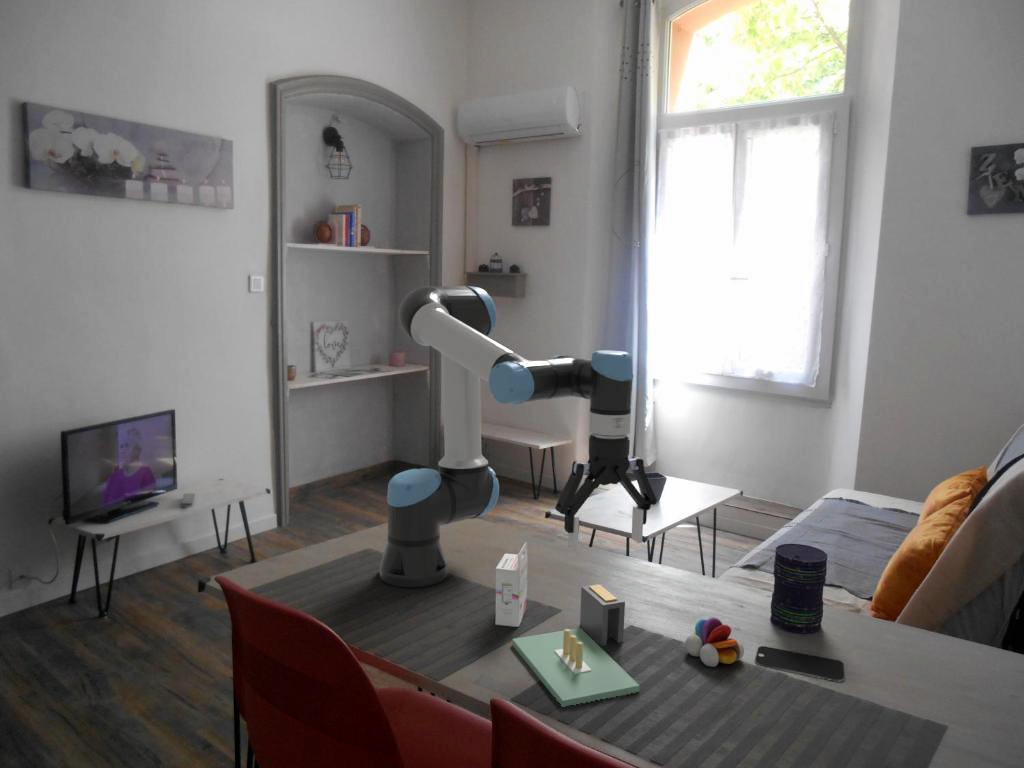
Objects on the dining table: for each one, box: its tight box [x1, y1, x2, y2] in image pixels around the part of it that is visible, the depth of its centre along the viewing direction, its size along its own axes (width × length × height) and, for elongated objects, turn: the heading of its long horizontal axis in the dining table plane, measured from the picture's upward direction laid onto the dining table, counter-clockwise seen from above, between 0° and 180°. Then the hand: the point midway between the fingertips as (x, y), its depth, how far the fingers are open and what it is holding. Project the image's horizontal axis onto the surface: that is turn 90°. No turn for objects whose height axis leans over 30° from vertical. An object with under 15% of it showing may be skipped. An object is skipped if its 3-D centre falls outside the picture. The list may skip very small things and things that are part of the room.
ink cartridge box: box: [494, 541, 529, 628], centre depth 155 cm, size 9×5×15 cm, turn 168°
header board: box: [511, 627, 640, 708], centre depth 137 cm, size 22×14×6 cm, turn 21°
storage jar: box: [769, 543, 828, 636], centre depth 155 cm, size 10×10×15 cm
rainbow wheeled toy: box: [684, 617, 745, 668], centre depth 142 cm, size 8×10×7 cm
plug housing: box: [579, 583, 626, 647], centre depth 150 cm, size 9×5×8 cm, turn 21°
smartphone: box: [754, 645, 846, 682], centre depth 140 cm, size 8×1×15 cm
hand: (605, 544), depth 148 cm, fingers open, 13 cm apart
